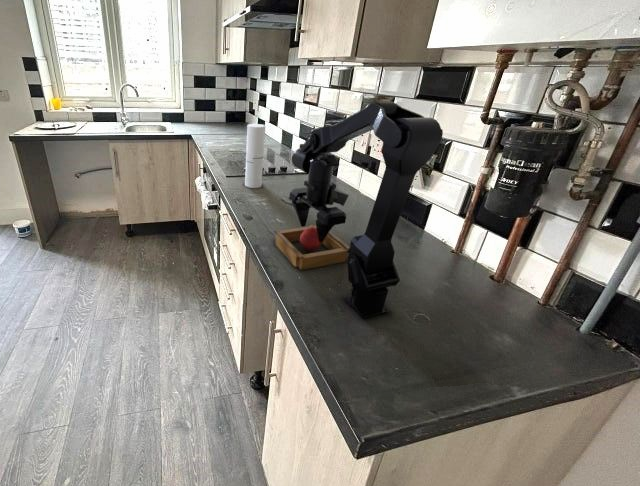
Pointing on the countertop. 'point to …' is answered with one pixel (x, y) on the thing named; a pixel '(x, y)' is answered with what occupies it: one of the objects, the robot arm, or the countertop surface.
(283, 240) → the square wooden frame
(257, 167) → the cylindrical container
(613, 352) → the countertop surface
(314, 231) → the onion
